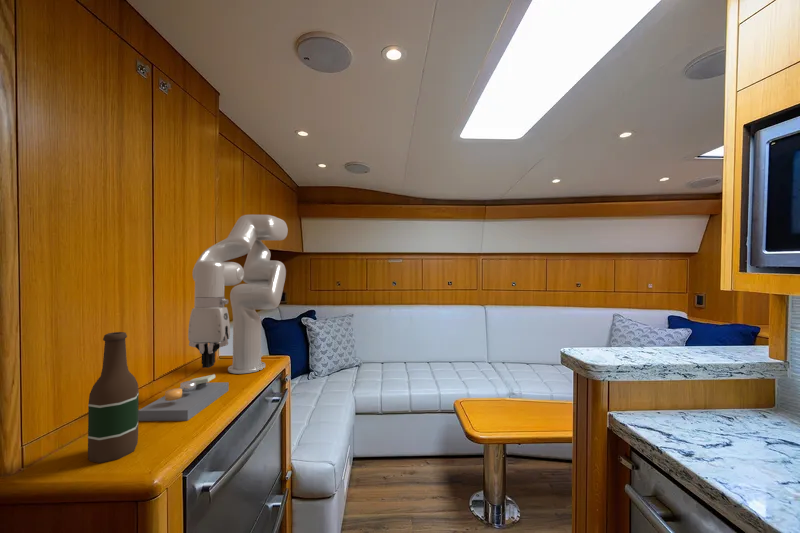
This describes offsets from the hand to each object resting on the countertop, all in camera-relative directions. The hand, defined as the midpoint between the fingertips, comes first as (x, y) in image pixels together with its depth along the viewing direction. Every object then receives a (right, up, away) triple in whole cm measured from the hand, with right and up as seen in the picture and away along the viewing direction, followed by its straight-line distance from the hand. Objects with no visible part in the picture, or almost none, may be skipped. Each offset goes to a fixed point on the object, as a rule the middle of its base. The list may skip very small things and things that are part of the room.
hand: (208, 366), depth 96 cm
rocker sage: (-2, -5, +1) cm, 5 cm away
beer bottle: (-2, -9, -29) cm, 31 cm away
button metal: (-2, -5, -5) cm, 7 cm away
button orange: (-2, -5, -11) cm, 13 cm away
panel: (-2, -9, -5) cm, 10 cm away
